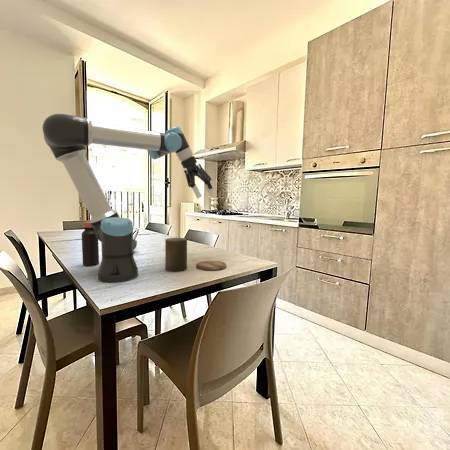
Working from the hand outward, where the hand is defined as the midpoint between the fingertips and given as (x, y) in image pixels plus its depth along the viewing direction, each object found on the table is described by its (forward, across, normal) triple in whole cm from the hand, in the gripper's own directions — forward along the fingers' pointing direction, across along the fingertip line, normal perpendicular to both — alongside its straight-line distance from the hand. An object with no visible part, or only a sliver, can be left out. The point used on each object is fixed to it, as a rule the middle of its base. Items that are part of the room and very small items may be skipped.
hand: (206, 196), depth 135 cm
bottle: (+2, +19, +62) cm, 65 cm away
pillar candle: (+20, -8, +36) cm, 41 cm away
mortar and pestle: (+11, +37, +42) cm, 57 cm away
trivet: (+27, -13, +22) cm, 37 cm away
